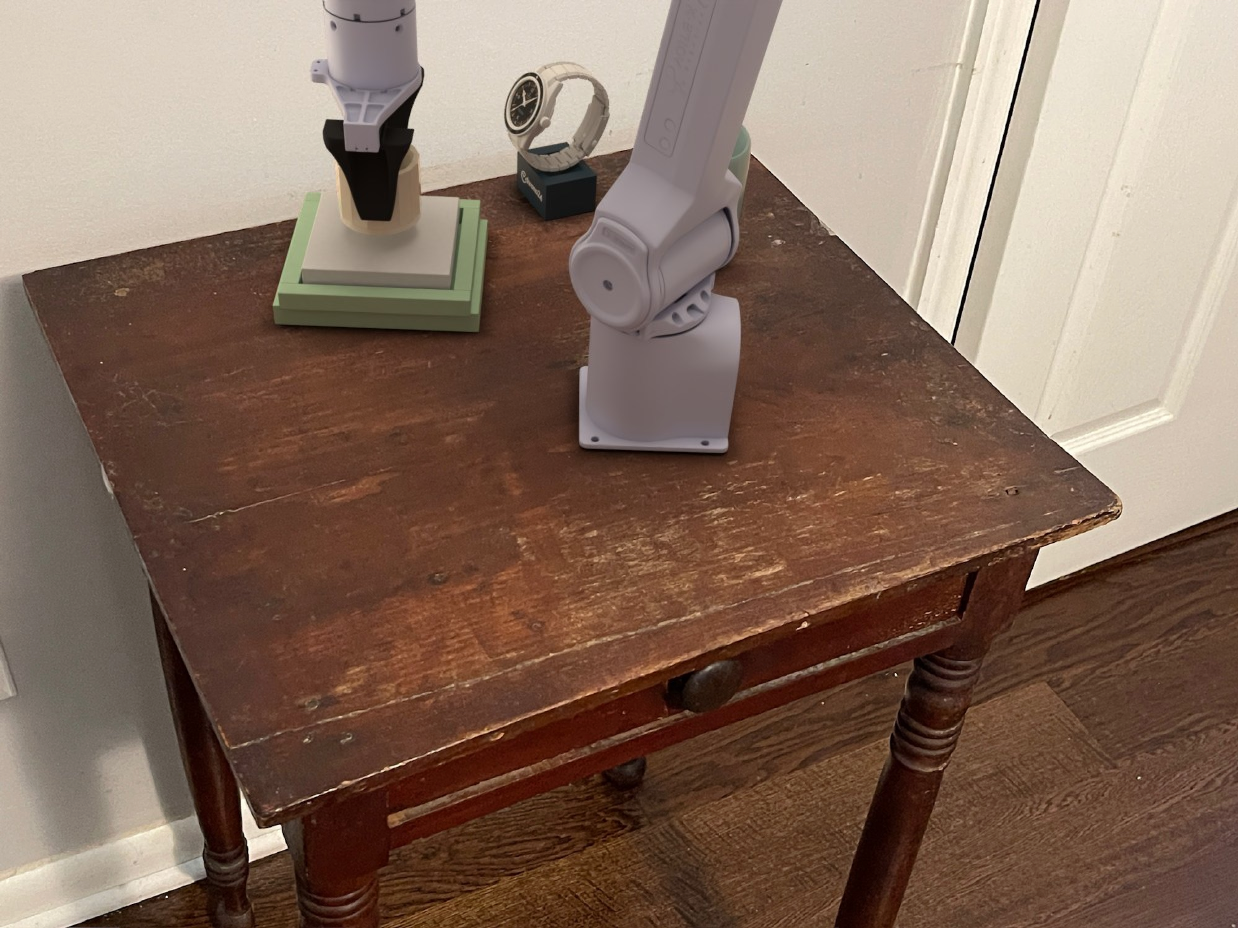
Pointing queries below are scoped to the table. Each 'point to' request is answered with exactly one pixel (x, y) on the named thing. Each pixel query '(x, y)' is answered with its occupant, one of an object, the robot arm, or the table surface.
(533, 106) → the watch
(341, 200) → the cylindrical container
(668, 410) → the robot arm
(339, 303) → the scale
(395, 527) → the table surface
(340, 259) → the pan
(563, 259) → the table surface
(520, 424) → the table surface
